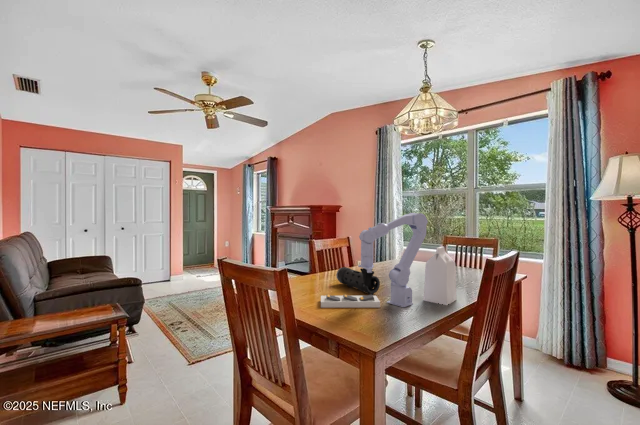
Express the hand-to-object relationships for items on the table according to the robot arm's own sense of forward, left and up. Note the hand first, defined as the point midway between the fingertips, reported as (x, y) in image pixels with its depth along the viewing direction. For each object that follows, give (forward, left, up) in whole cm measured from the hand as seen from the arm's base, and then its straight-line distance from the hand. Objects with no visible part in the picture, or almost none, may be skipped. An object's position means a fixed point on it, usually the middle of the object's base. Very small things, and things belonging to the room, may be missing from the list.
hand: (367, 284), depth 144 cm
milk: (-18, -33, -10) cm, 39 cm away
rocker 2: (0, 0, -6) cm, 6 cm away
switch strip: (+6, +5, -9) cm, 12 cm away
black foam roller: (+22, -16, -10) cm, 29 cm away
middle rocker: (+5, +6, -6) cm, 10 cm away
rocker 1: (+10, +12, -6) cm, 17 cm away
